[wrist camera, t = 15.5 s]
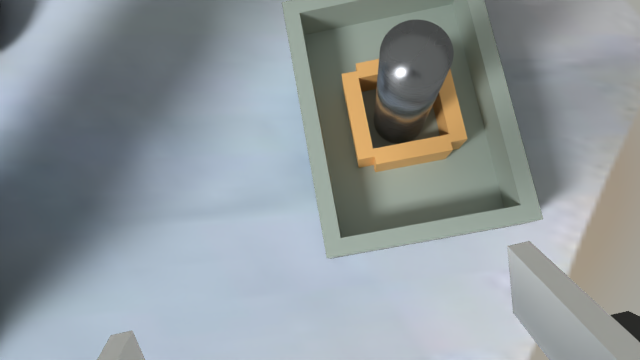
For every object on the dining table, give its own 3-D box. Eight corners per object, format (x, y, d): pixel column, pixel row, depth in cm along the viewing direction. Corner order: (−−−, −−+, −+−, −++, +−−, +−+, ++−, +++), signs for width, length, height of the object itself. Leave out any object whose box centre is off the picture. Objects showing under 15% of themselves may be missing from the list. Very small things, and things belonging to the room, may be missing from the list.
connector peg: (379, 148, 37) (387, 94, 25) (369, 101, 37) (373, 27, 26) (428, 138, 36) (461, 79, 25) (418, 91, 37) (444, 12, 25)
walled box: (330, 258, 36) (326, 258, 32) (290, 30, 40) (281, 2, 36) (520, 224, 36) (543, 219, 31) (461, -5, 39) (473, -39, 35)
